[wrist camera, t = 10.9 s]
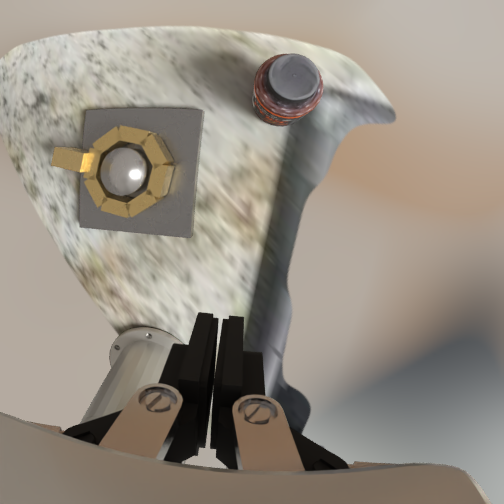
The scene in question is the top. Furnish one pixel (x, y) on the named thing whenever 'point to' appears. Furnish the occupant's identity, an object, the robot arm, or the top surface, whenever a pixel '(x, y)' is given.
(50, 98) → the top surface
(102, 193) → the segmented octagonal ring
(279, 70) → the supplement bottle
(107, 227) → the spindle plate
